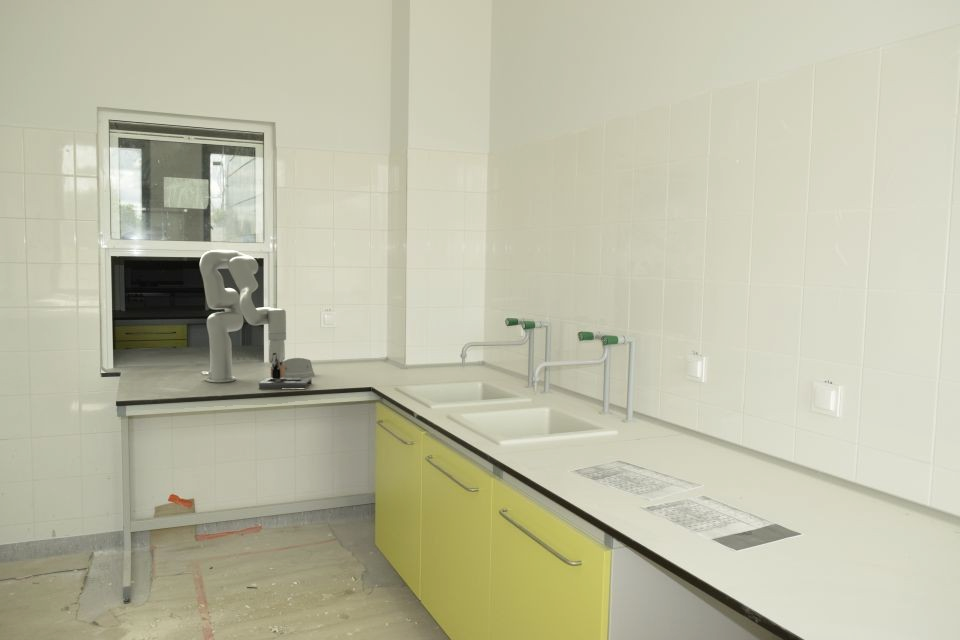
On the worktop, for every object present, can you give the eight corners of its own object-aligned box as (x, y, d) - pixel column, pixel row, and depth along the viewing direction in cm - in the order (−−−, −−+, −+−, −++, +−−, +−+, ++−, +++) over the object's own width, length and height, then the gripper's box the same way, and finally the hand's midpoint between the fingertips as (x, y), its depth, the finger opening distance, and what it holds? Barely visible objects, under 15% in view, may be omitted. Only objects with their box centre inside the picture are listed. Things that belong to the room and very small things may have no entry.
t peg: (271, 386, 318) (270, 366, 317) (273, 384, 323) (273, 364, 322) (282, 386, 318) (282, 366, 317) (285, 384, 323) (284, 364, 322)
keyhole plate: (259, 389, 314) (259, 382, 313) (267, 383, 327) (267, 377, 326) (305, 389, 314) (305, 383, 314) (311, 383, 327) (311, 377, 327)
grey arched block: (281, 379, 339) (278, 358, 341) (278, 381, 343) (275, 360, 344) (315, 376, 348) (312, 355, 350) (312, 377, 352) (309, 357, 354)
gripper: (273, 334, 327) (274, 374, 328) (263, 338, 310) (264, 380, 311) (290, 334, 327) (291, 374, 329) (281, 339, 310) (281, 380, 312)
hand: (278, 376), depth 320 cm, fingers closed on t peg, 5 cm apart
